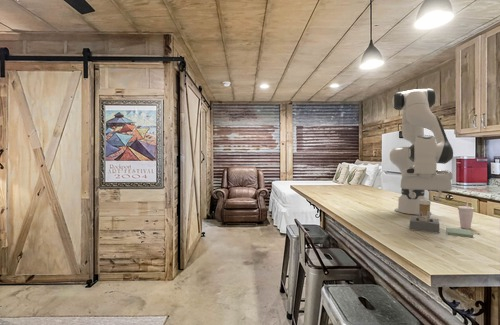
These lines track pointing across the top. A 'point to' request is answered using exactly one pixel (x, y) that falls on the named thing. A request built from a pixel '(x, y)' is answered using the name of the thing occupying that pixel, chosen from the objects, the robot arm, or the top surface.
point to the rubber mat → (459, 232)
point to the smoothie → (465, 216)
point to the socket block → (424, 225)
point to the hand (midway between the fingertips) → (425, 199)
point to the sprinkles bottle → (424, 210)
